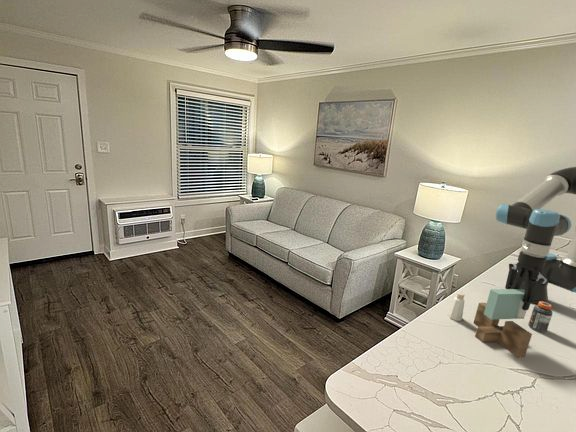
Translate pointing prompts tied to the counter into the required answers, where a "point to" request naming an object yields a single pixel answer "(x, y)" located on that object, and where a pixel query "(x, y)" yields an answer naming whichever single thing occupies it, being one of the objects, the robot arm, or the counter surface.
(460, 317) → the pepper shaker
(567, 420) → the counter surface
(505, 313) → the teal block
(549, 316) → the pill bottle
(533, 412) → the counter surface
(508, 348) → the walnut joint base
